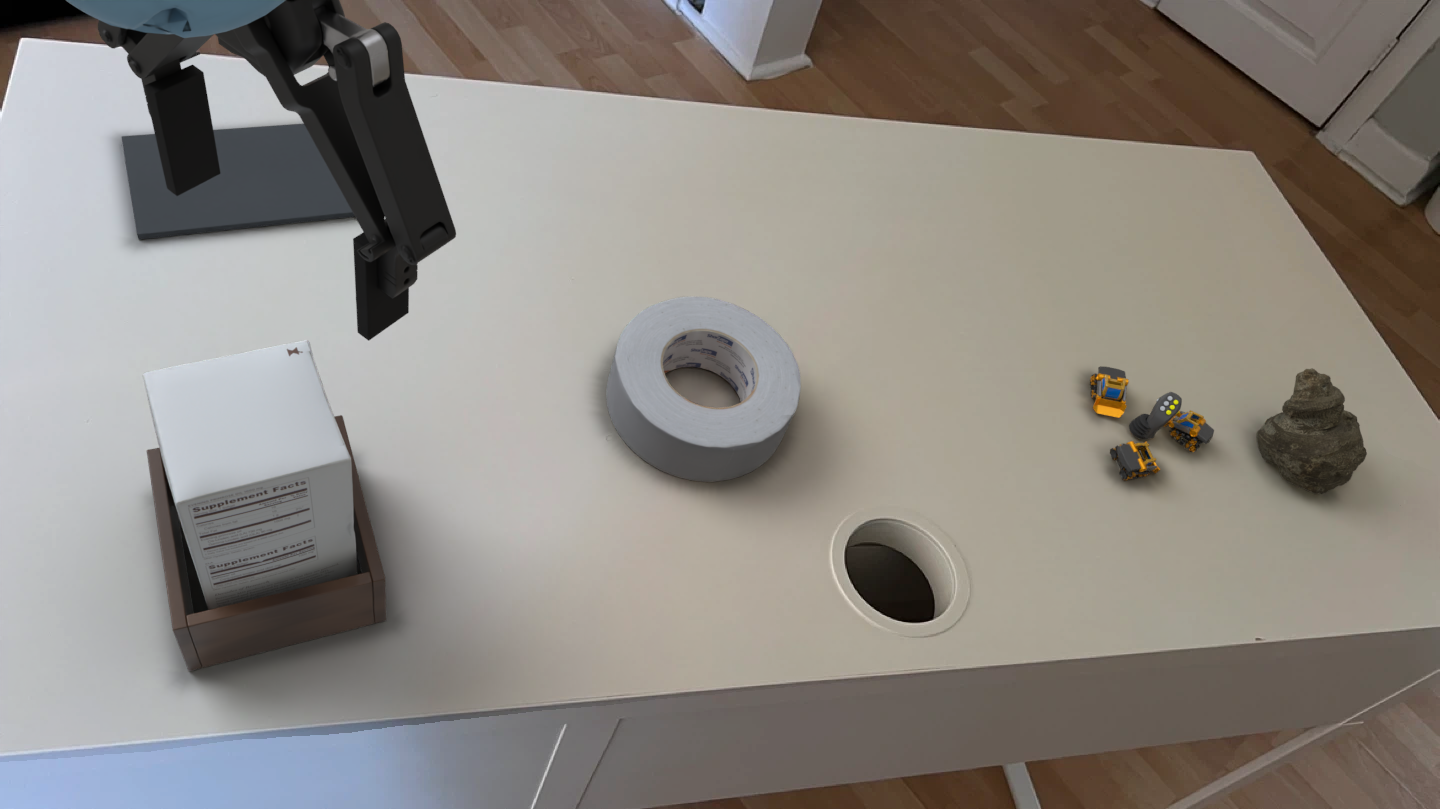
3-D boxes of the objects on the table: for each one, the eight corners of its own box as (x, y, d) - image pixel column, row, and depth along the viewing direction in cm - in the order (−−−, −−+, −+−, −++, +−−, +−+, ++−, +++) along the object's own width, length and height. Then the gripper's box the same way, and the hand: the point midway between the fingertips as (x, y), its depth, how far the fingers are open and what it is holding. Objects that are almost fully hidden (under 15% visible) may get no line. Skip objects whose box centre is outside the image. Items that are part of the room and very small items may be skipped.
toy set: (1052, 437, 96) (1078, 405, 92) (1095, 368, 103) (1121, 336, 99) (1170, 515, 93) (1201, 486, 90) (1206, 439, 100) (1236, 409, 97)
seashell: (1338, 354, 103) (1256, 354, 100) (1448, 396, 92) (1361, 397, 89) (1304, 462, 107) (1224, 465, 103) (1406, 514, 96) (1321, 518, 93)
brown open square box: (188, 672, 66) (172, 630, 62) (162, 498, 73) (146, 449, 68) (386, 621, 71) (385, 578, 67) (345, 462, 78) (342, 414, 73)
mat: (138, 239, 86) (136, 234, 85) (122, 141, 91) (121, 135, 91) (368, 215, 93) (368, 210, 92) (340, 125, 99) (340, 120, 98)
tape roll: (796, 487, 86) (814, 452, 82) (607, 477, 82) (618, 439, 78) (773, 341, 95) (789, 303, 91) (603, 327, 91) (612, 286, 87)
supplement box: (184, 521, 72) (136, 365, 59) (324, 484, 76) (307, 331, 63) (216, 643, 68) (172, 504, 55) (363, 597, 72) (354, 458, 59)
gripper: (569, -31, 38) (518, 345, 55) (97, -327, 43) (180, 98, 60) (418, 44, 34) (412, 430, 50) (-89, -296, 39) (55, 155, 55)
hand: (286, 250), depth 55 cm, fingers open, 13 cm apart
